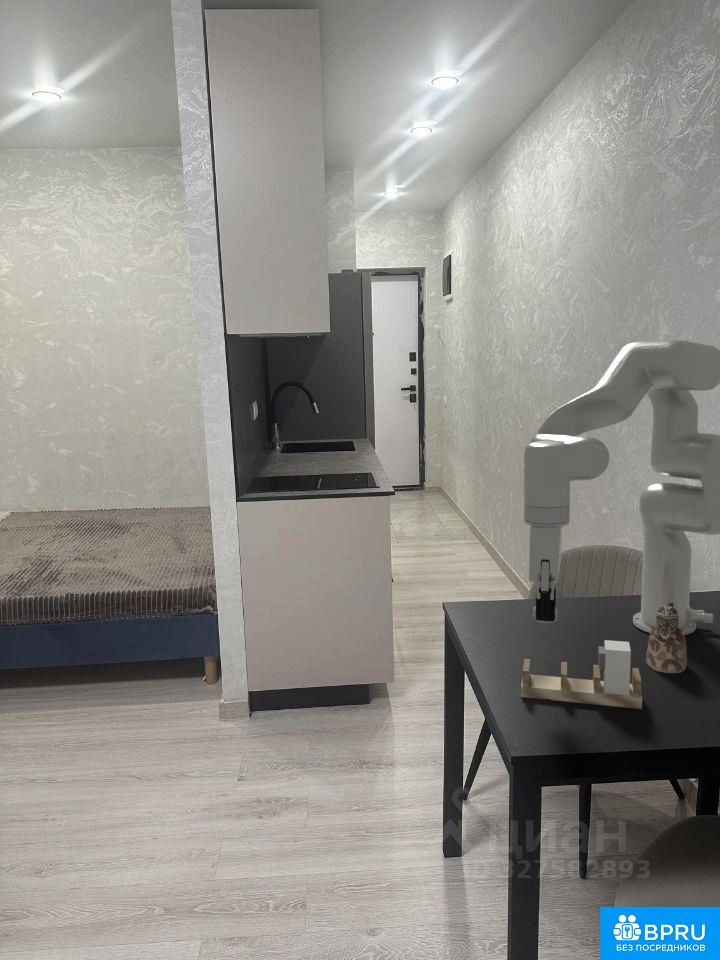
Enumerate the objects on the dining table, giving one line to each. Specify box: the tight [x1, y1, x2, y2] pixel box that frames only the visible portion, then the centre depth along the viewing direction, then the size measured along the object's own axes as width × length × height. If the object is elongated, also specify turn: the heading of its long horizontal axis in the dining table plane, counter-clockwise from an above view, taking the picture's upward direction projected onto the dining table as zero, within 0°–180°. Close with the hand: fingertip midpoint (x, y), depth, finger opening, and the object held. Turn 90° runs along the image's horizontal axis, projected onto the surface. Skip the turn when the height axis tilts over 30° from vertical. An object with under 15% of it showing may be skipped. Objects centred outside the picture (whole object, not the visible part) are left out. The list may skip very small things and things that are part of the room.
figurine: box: [645, 602, 688, 674], centre depth 132 cm, size 7×7×12 cm
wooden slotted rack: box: [520, 658, 643, 710], centre depth 122 cm, size 20×5×5 cm, turn 74°
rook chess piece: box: [532, 577, 559, 624], centre depth 121 cm, size 4×4×8 cm
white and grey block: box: [597, 639, 632, 695], centre depth 120 cm, size 5×4×8 cm
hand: (545, 613), depth 122 cm, fingers closed on rook chess piece, 4 cm apart
